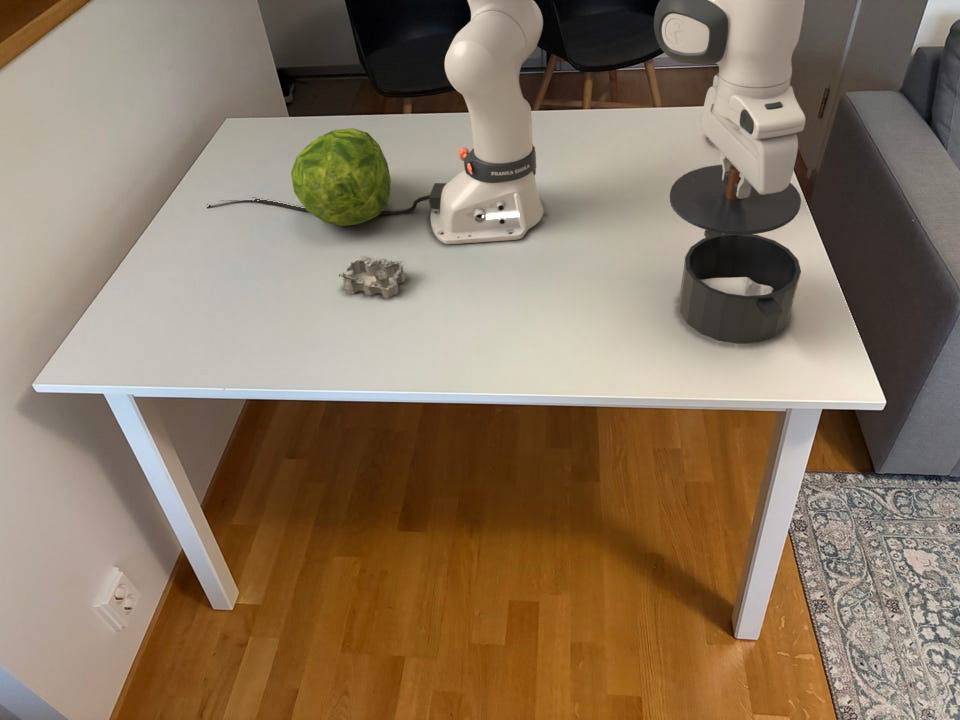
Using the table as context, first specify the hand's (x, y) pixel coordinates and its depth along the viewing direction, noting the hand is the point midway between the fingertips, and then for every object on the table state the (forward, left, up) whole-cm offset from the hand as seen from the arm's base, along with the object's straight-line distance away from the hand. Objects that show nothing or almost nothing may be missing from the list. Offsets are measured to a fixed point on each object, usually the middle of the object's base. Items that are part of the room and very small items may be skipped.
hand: (735, 189), depth 106 cm
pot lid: (0, 0, -2) cm, 2 cm away
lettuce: (-57, +51, -23) cm, 80 cm away
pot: (+3, 0, -23) cm, 23 cm away
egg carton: (-54, +25, -23) cm, 64 cm away
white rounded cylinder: (+3, 0, -23) cm, 23 cm away
